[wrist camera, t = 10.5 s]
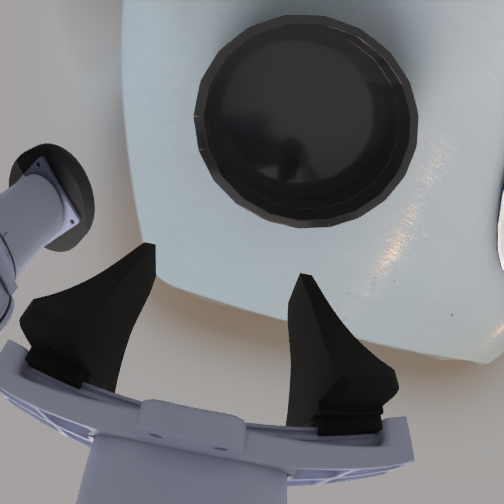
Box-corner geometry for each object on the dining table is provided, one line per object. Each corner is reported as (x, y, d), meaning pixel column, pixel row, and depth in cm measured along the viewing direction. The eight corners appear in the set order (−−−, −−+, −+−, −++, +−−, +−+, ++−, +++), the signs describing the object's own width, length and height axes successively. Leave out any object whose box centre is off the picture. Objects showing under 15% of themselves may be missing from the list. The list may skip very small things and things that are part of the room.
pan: (253, 224, 23) (250, 252, 19) (178, 71, 16) (157, 70, 13) (408, 174, 19) (431, 194, 16) (356, 10, 12) (376, -3, 9)
